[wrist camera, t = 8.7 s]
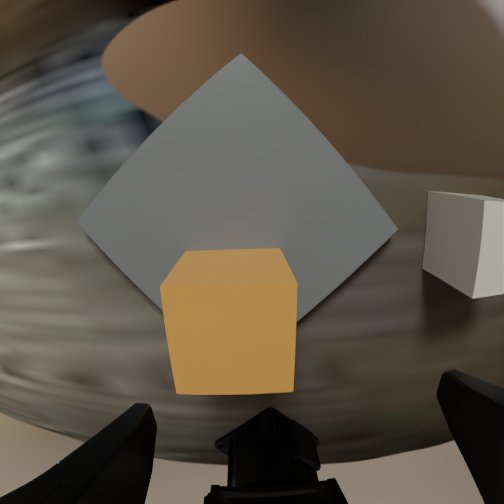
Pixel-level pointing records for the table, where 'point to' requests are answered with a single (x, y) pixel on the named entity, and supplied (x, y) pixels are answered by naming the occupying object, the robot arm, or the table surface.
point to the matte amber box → (231, 322)
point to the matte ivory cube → (466, 242)
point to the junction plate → (238, 191)
